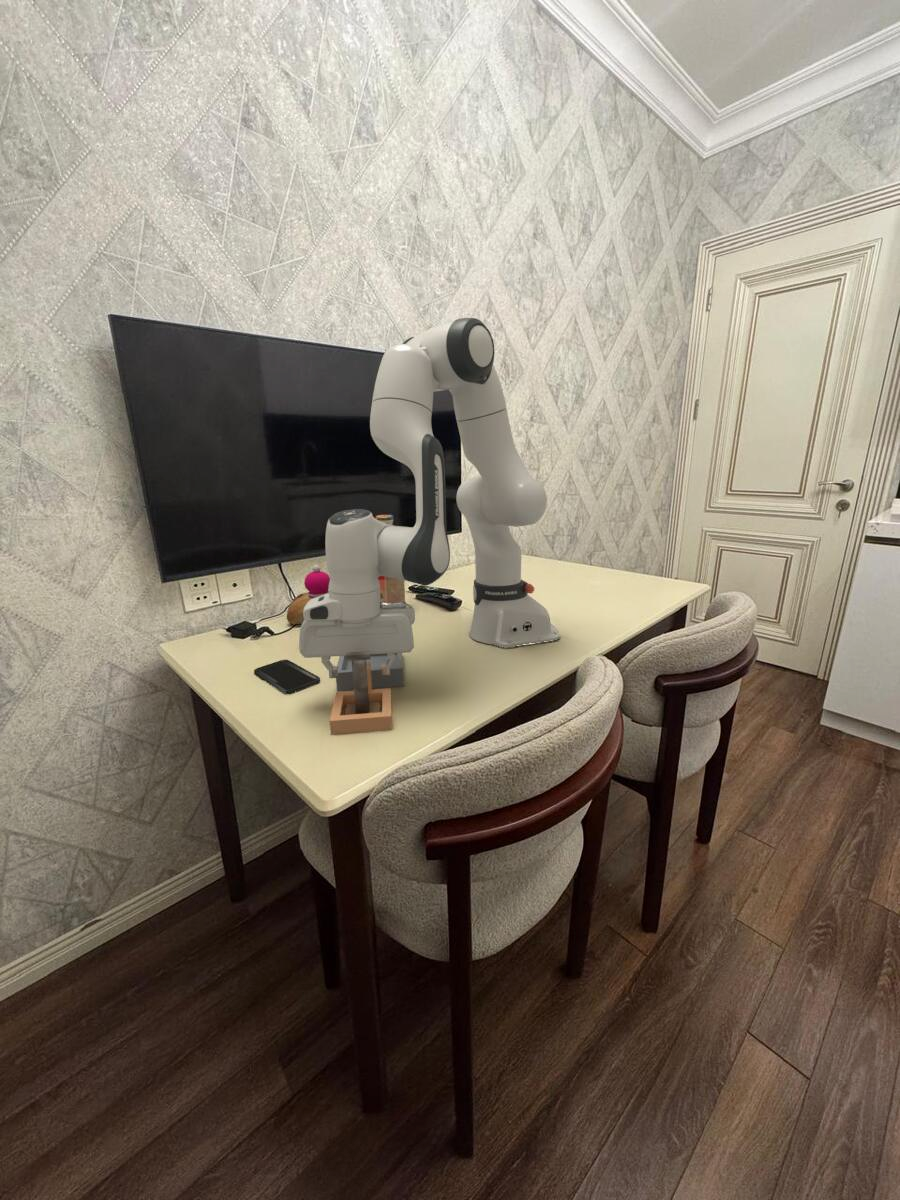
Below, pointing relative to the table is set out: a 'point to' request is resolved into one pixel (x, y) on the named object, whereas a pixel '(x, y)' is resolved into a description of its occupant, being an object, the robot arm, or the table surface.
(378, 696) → the ring
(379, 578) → the fruit juice
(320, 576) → the pepper mill
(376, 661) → the tray
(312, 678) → the phone
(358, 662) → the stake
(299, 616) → the bread roll
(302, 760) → the table surface
